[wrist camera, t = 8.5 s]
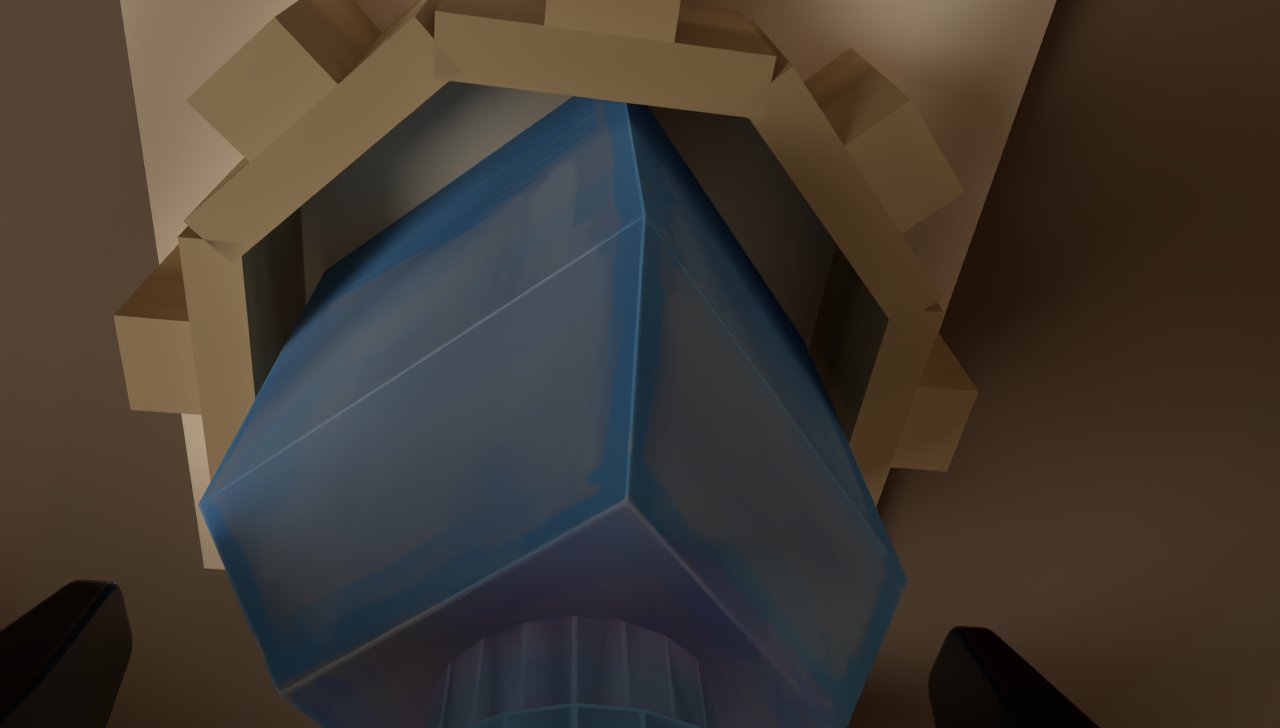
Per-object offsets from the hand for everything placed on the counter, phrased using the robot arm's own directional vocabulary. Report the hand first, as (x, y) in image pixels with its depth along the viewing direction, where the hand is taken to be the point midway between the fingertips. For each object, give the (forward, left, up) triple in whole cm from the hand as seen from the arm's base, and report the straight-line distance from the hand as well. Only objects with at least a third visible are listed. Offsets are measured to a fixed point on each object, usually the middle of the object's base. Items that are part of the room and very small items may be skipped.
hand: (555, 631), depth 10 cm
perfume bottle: (0, 0, -8) cm, 8 cm away
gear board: (0, 0, -9) cm, 9 cm away
